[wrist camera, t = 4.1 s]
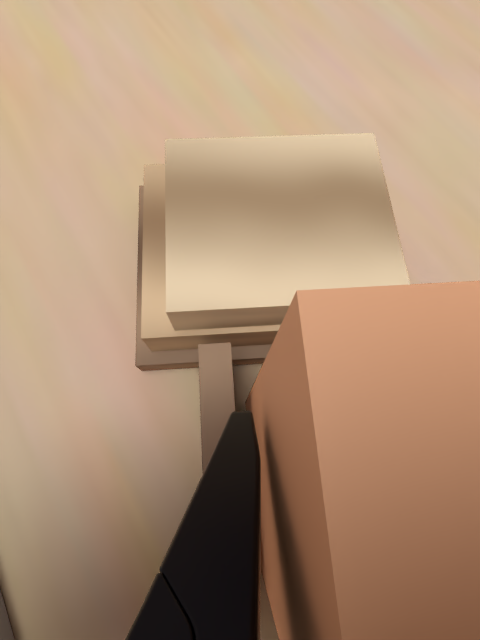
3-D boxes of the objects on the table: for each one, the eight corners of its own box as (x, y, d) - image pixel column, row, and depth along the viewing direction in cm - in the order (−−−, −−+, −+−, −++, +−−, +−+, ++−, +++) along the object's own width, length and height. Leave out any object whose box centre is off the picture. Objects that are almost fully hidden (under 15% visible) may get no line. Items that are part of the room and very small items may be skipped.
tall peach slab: (313, 545, 12) (745, 1072, 2) (255, 550, 12) (406, 1131, 2) (296, 399, 14) (492, 280, 4) (245, 402, 14) (296, 290, 4)
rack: (429, 551, 13) (536, 611, 8) (138, 579, 12) (86, 657, 8) (355, 192, 17) (398, 107, 13) (144, 200, 17) (115, 115, 12)
